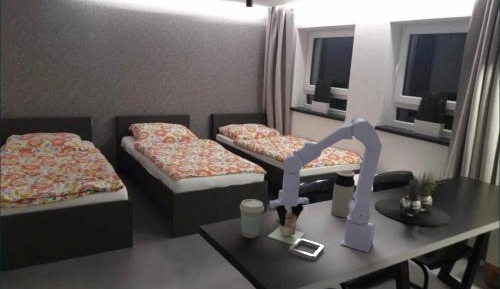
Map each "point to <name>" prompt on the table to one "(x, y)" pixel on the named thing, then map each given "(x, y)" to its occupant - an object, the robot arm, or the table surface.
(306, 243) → the metal collar
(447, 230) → the table surface
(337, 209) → the travel mug
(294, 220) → the maple peg
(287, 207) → the skincare box
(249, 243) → the table surface
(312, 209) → the table surface
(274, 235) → the pad
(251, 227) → the coffee cup
